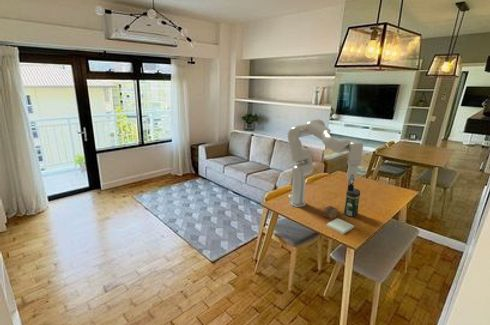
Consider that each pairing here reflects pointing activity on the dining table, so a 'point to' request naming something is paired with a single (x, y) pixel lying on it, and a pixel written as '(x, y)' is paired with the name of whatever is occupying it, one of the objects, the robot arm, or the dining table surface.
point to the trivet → (340, 225)
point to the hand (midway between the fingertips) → (350, 187)
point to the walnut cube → (330, 212)
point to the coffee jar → (352, 202)
